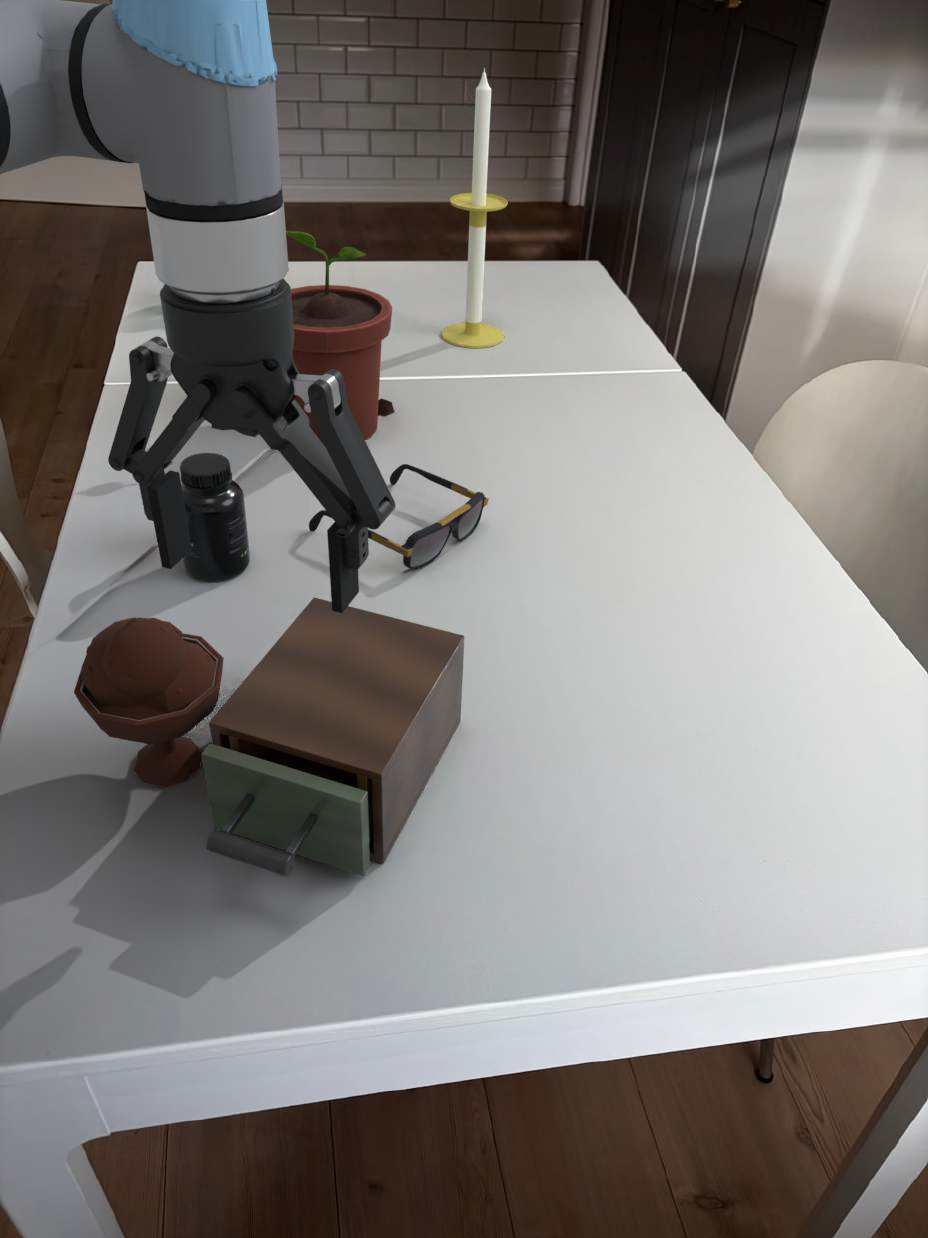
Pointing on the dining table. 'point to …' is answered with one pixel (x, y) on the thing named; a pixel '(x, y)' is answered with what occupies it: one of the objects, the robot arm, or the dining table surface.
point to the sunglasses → (434, 537)
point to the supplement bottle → (214, 518)
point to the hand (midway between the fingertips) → (259, 579)
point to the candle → (477, 233)
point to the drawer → (286, 809)
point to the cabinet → (355, 704)
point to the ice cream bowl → (151, 693)
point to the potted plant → (342, 338)
